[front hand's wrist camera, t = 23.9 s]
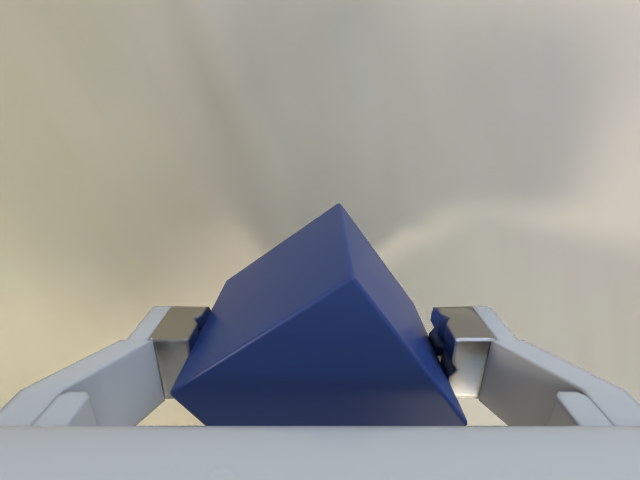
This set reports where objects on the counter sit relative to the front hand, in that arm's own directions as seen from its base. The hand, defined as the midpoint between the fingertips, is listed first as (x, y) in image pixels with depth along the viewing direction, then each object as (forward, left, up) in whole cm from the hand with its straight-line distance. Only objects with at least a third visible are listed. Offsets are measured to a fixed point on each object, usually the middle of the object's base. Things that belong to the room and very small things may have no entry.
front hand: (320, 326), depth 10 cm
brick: (0, 0, -2) cm, 2 cm away
